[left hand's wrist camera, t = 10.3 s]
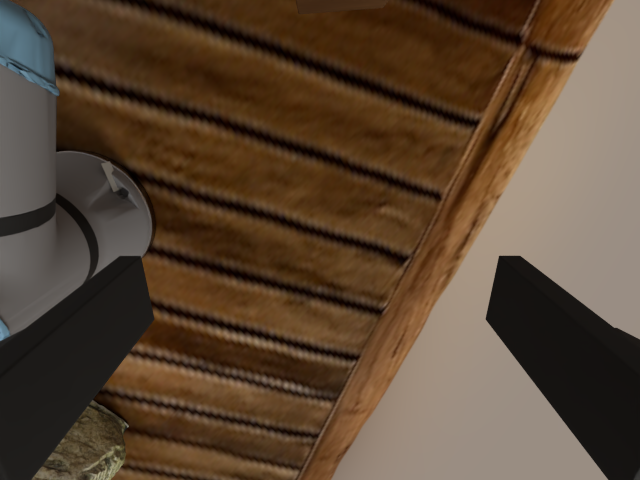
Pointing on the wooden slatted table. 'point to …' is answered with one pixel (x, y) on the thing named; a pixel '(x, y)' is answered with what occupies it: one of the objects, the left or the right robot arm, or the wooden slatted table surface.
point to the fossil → (88, 448)
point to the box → (337, 5)
